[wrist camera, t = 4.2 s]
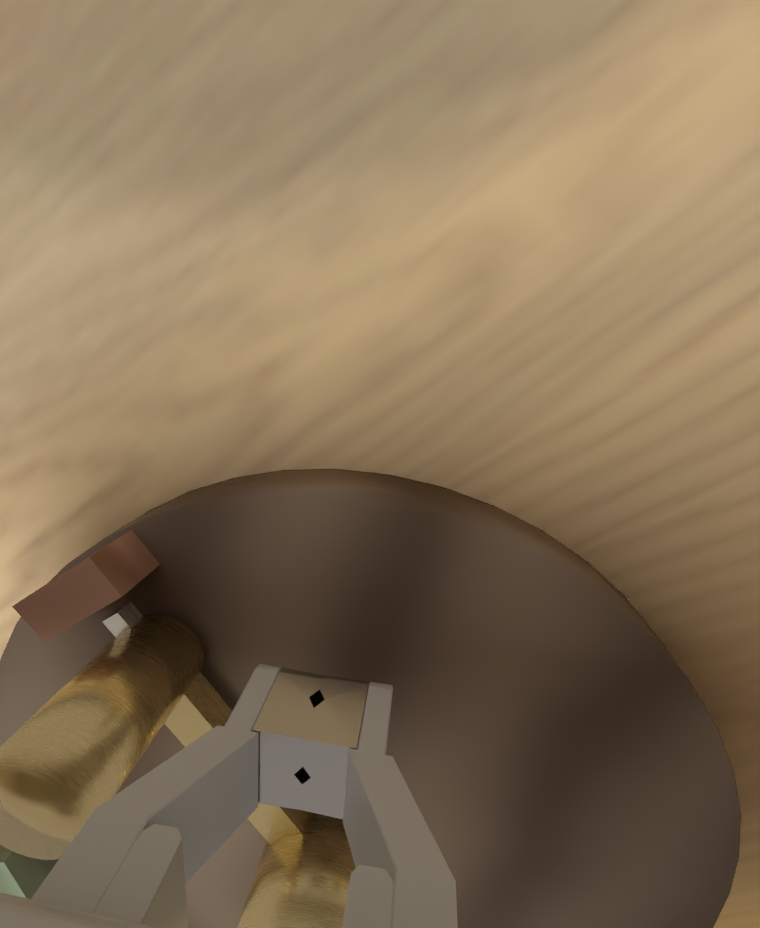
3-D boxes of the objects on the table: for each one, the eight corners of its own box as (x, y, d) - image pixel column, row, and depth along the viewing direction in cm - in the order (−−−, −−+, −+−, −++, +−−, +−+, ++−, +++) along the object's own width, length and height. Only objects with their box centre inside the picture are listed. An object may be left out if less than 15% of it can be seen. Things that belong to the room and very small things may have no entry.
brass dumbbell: (415, 873, 14) (406, 1111, 9) (314, 901, 15) (266, 1127, 10) (177, 573, 11) (27, 713, 7) (77, 631, 12) (-105, 783, 8)
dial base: (834, 549, 11) (999, 638, 8) (583, 1035, 19) (615, 1187, 15) (3, 410, 13) (-142, 436, 10) (71, 903, 21) (0, 1013, 17)
